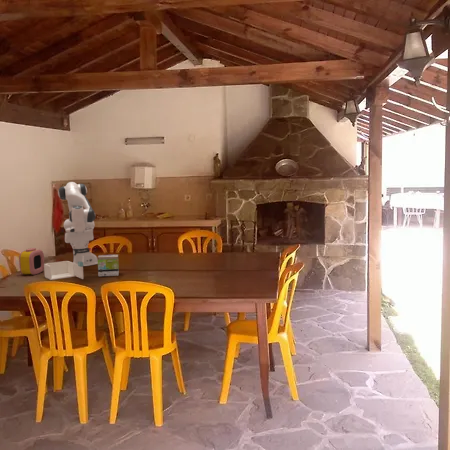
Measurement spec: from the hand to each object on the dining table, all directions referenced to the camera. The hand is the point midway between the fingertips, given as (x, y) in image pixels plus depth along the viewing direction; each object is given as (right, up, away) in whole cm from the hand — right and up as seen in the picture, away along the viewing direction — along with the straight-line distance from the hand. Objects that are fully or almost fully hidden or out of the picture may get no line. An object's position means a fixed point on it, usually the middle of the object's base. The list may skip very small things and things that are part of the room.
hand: (80, 247), depth 354 cm
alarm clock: (-45, -22, +29) cm, 58 cm away
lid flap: (-3, -22, +6) cm, 23 cm away
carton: (-19, -22, +14) cm, 33 cm away
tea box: (+17, -21, +16) cm, 32 cm away
